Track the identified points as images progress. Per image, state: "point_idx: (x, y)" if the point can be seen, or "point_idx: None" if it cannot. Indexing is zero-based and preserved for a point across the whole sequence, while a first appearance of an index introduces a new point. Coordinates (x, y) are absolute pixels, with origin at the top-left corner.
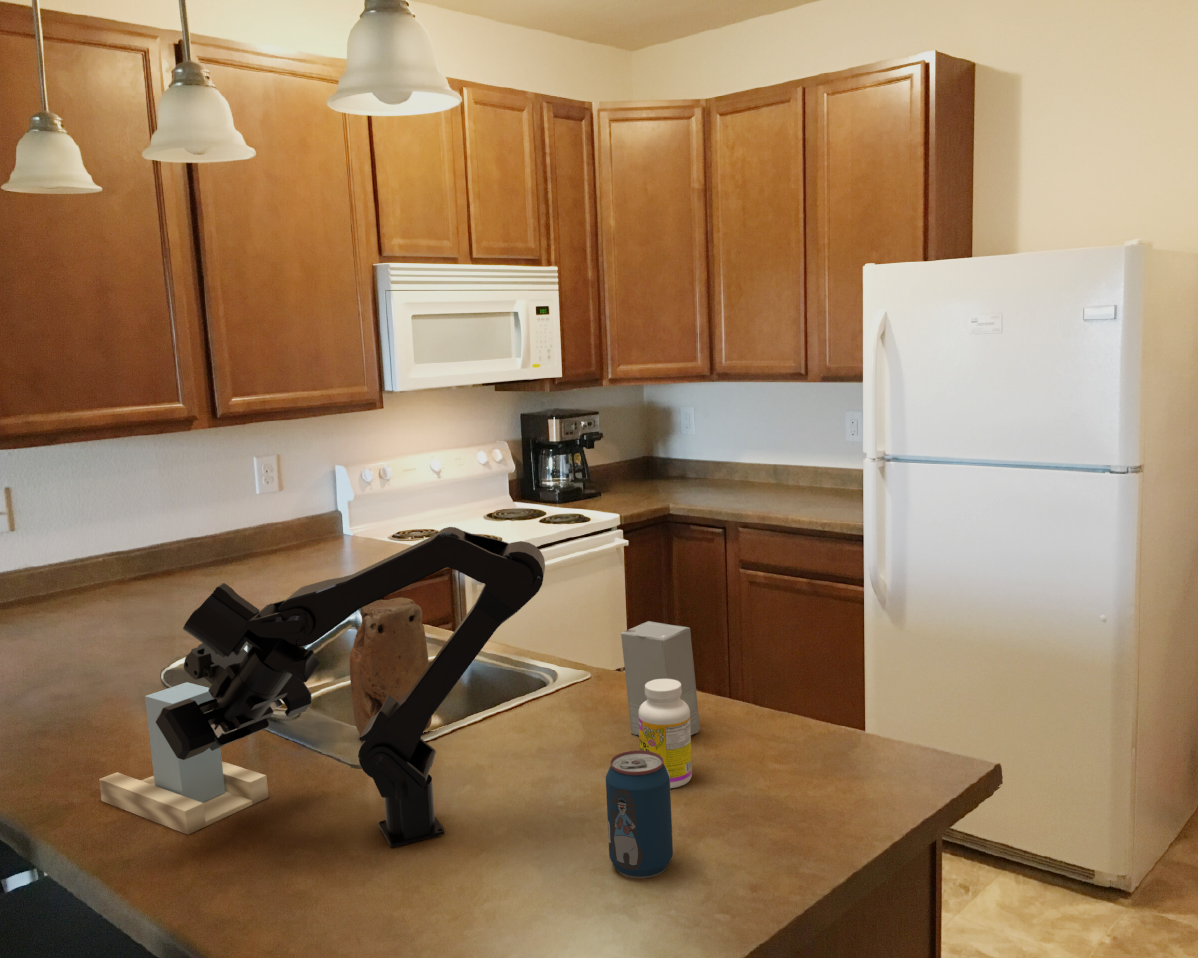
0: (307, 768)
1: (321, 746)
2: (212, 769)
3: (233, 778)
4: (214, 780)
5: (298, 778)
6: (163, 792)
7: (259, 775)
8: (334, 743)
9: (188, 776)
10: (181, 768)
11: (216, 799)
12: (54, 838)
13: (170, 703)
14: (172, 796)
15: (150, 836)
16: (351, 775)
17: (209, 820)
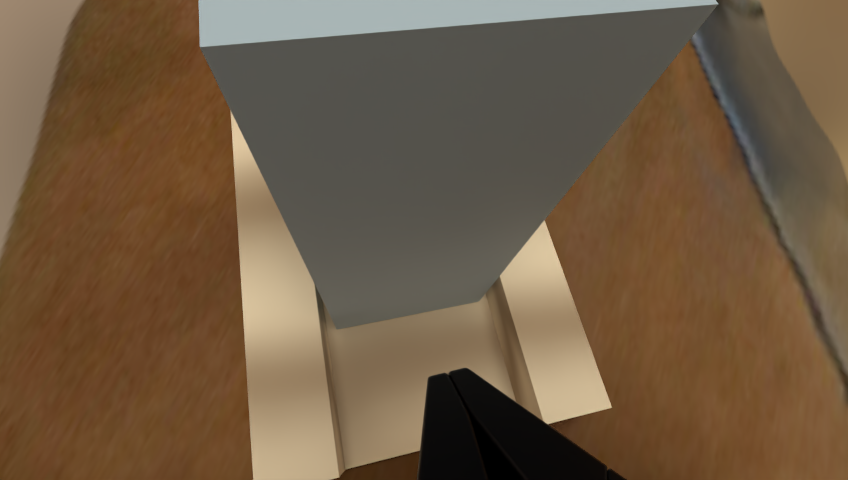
0: (724, 301)
1: (785, 196)
2: (460, 281)
3: (512, 323)
4: (456, 293)
5: (686, 347)
6: (293, 258)
7: (590, 388)
8: (820, 205)
9: (359, 296)
10: (327, 289)
11: (442, 325)
12: (44, 189)
13: (201, 18)
14: (294, 316)
15: (200, 393)
16: (838, 465)
17: (361, 463)
